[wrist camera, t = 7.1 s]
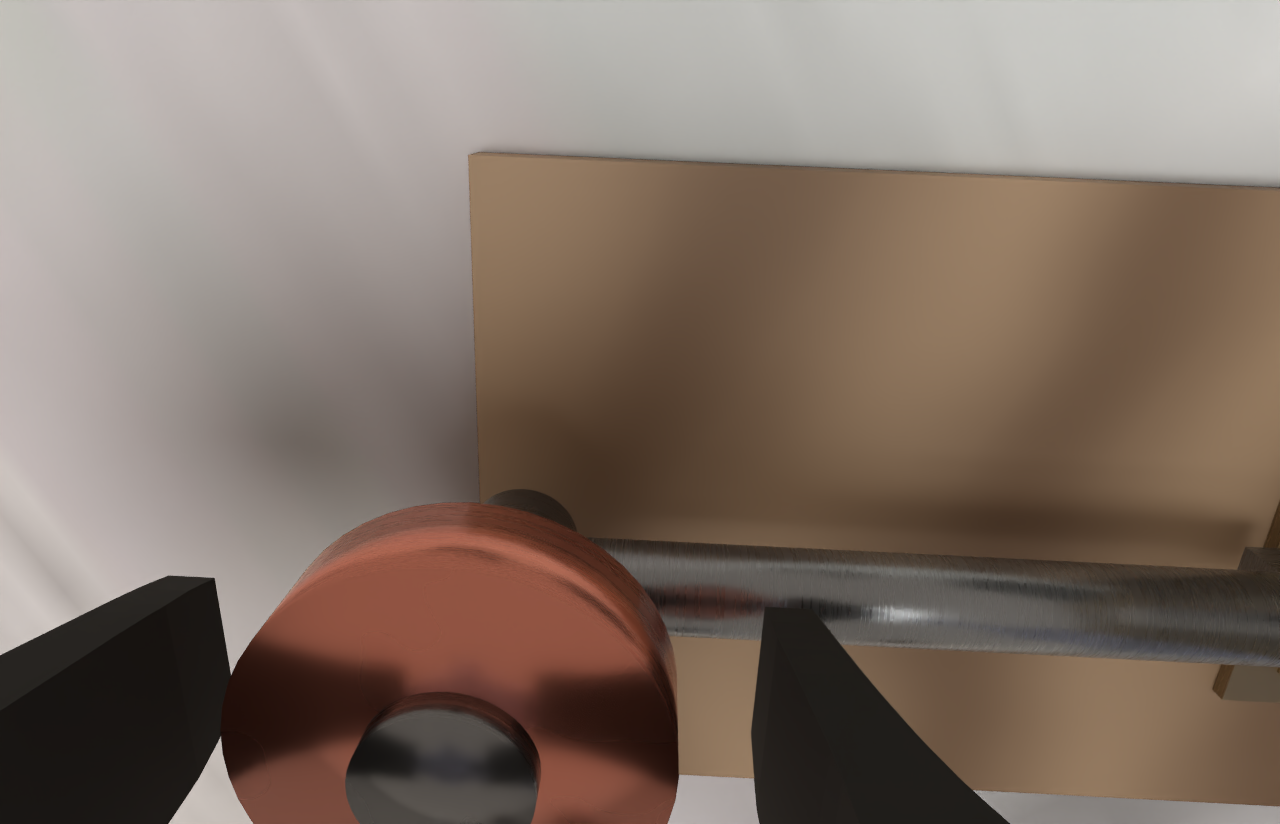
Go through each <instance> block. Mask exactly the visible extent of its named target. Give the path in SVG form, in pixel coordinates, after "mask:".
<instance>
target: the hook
mask: <svg viewBox="0 0 1280 824" xmlns="http://www.w3.org/2000/svg"><path fill="white" fill-rule="evenodd" d="M765 607H781V608H800V609H812V610H813V611H814V612H815V613H816V614H817V615H818V616H819V618H820V619H821V620H822V621H823V623H824V624H825V625H826V626H827V628H828V629H829V630H830V631H831V633H832V634H833V635H834V637H835V638H836V639H837V640H838V642H839V643H840V644H841V645H852V646H872V647H892V648H911V649H931V650H950V651H970V652H989V653H1009V654H1028V655H1048V656H1068V657H1087V658H1107V659H1126V660H1146V661H1165V662H1185V663H1204V664H1224V665H1243V666H1263V667H1280V548H1266V547H1245V549H1244V551H1243V554H1242V557H1241V560H1240V563H1239V566H1238V569H1237V570H1234V569H1214V568H1193V567H1173V566H1153V565H1133V564H1113V563H1093V562H1073V561H1053V560H1033V559H1013V558H993V557H973V556H952V555H932V554H912V553H892V552H872V551H852V550H832V549H812V548H792V547H772V546H752V545H731V544H711V543H691V542H671V541H651V540H631V539H611V538H591V537H584V536H582V535H581V534H579V533H577V529H576V526H575V523H574V521H573V519H572V517H571V515H570V514H569V512H568V511H567V510H566V509H565V508H564V507H563V505H561V504H560V503H559V502H558V501H557V500H555V499H553V498H552V497H550V496H548V495H546V494H544V493H541V492H538V491H534V490H528V489H513V490H507V491H503V492H501V493H498V494H496V495H494V496H492V497H490V498H489V499H488V500H486V501H485V502H484V503H483V504H480V503H471V502H469V503H437V504H429V505H422V506H415V507H411V508H407V509H403V510H399V511H395V512H391V513H388V514H386V515H383V516H381V517H378V518H376V519H373V520H371V521H368V522H366V523H364V524H362V525H360V526H359V527H357V528H355V529H353V530H352V531H350V532H348V533H346V534H345V535H343V536H342V537H340V538H339V539H338V540H337V541H335V542H334V543H333V544H331V545H330V546H329V547H328V548H326V549H325V550H324V551H323V552H322V553H321V554H320V555H319V556H318V557H317V558H316V559H315V560H314V562H313V563H312V564H311V565H310V566H309V567H308V568H307V569H306V571H305V572H304V573H303V575H302V576H301V577H300V578H299V580H298V581H297V582H296V584H295V585H294V586H293V587H292V589H291V590H290V591H289V593H288V594H287V595H286V597H285V598H284V599H283V600H282V602H281V603H280V604H279V606H278V607H277V608H276V610H275V611H274V612H273V613H272V615H271V616H270V617H269V619H268V620H267V621H266V622H265V624H264V625H263V626H262V628H261V629H260V630H259V632H258V633H257V634H256V635H255V637H254V638H253V639H252V641H251V642H250V644H249V645H248V647H247V648H246V650H245V651H244V653H243V654H242V656H241V657H240V659H239V660H238V662H237V664H236V666H235V669H234V671H233V673H232V675H231V678H230V680H229V682H228V685H227V689H226V693H225V697H224V701H223V705H222V716H221V741H222V751H223V756H224V760H225V764H226V768H227V772H228V775H229V778H230V781H231V783H232V785H233V788H234V790H235V792H236V795H237V797H238V799H239V801H240V803H241V804H242V806H243V808H244V809H245V811H246V813H247V814H248V816H249V818H250V819H251V821H252V822H253V823H254V824H667V823H668V820H669V818H670V815H671V812H672V809H673V806H674V803H675V799H676V792H677V786H678V780H679V753H678V708H677V669H676V663H675V657H674V651H673V647H672V644H671V641H670V638H669V636H677V637H696V638H716V639H735V640H755V641H761V637H762V628H763V619H764V610H765Z"/></svg>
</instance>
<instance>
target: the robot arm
mask: <svg viewBox="0 0 1280 824" xmlns="http://www.w3.org/2000/svg"><path fill="white" fill-rule="evenodd" d="M230 678H231V673H230V667H229V661H228V655H227V649H226V643H225V637H224V631H223V625H222V620H221V614H220V608H219V602H218V596H217V590H216V584H215V578H204V577H185V576H167V577H164V578H161V579H159V580H156V581H154V582H151V583H149V584H147V585H144V586H142V587H140V588H137V589H135V590H133V591H131V592H129V593H127V594H124V595H122V596H120V597H118V598H116V599H114V600H112V601H110V602H108V603H106V604H103V605H101V606H99V607H97V608H95V609H93V610H91V611H89V612H87V613H85V614H83V615H81V616H79V617H77V618H75V619H73V620H71V621H69V622H67V623H65V624H63V625H61V626H59V627H57V628H55V629H53V630H51V631H49V632H47V633H45V634H43V635H41V636H39V637H36V638H34V639H32V640H30V641H28V642H26V643H24V644H22V645H20V646H18V647H16V648H14V649H12V650H10V651H8V652H6V653H4V654H2V655H0V824H168V823H169V822H170V820H171V819H172V817H173V816H174V814H175V813H176V812H177V810H178V809H179V807H180V806H181V804H182V803H183V801H184V800H185V798H186V797H187V795H188V794H189V792H190V791H191V789H192V788H193V786H194V784H195V783H196V781H197V780H198V778H199V777H200V775H201V773H202V771H203V769H204V767H205V765H206V763H207V762H208V760H209V758H210V756H211V754H212V752H213V750H214V748H215V747H216V745H217V743H218V741H219V739H220V736H221V716H222V705H223V701H224V697H225V693H226V689H227V685H228V682H229V680H230ZM751 742H752V756H753V770H754V782H755V794H756V806H757V813H758V818H759V823H760V824H1010V823H1009V822H1007V821H1006V820H1005V819H1004V818H1003V817H1002V816H1001V815H999V814H998V813H997V812H996V811H995V810H994V809H993V808H991V807H990V806H989V805H988V804H987V803H986V802H985V801H984V800H983V799H981V798H980V797H979V796H978V795H977V794H976V793H975V792H974V791H973V790H972V789H971V788H970V787H969V786H968V785H966V784H965V783H964V782H963V781H962V780H961V779H960V778H959V777H958V776H957V775H956V774H955V773H954V772H953V771H952V770H951V769H950V768H949V767H948V766H947V765H946V764H945V763H944V762H943V761H942V760H941V759H940V758H939V757H938V756H937V755H936V754H935V753H934V752H933V751H932V750H931V749H930V748H929V746H928V745H927V744H926V743H925V742H924V741H923V740H922V739H921V738H920V737H919V736H918V735H917V734H916V733H915V732H914V730H913V729H912V728H911V727H910V726H909V725H908V724H907V723H906V721H905V720H904V719H903V718H902V717H901V716H900V715H899V714H898V712H897V711H896V710H895V709H894V708H893V707H892V706H891V704H890V703H889V702H888V701H887V700H886V699H885V698H884V697H883V695H882V694H881V693H880V692H879V691H878V690H877V688H876V687H875V686H874V685H873V684H872V682H871V681H870V680H869V679H868V678H867V676H866V675H865V674H864V673H863V672H862V670H861V669H860V668H859V667H858V665H857V664H856V663H855V662H854V660H853V659H852V658H851V657H850V656H849V654H848V653H847V652H846V650H845V649H844V648H843V647H842V645H841V644H840V643H839V642H838V640H837V639H836V638H835V637H834V635H833V634H832V633H831V631H830V630H829V629H828V628H827V626H826V625H825V624H824V623H823V621H822V620H821V619H820V618H819V616H818V615H817V614H816V613H815V612H814V611H813V610H812V609H800V608H781V607H765V610H764V619H763V628H762V637H761V646H760V655H759V664H758V673H757V682H756V691H755V700H754V709H753V717H752V726H751Z"/></svg>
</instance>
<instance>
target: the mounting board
mask: <svg viewBox="0 0 1280 824" xmlns="http://www.w3.org/2000/svg"><path fill="white" fill-rule="evenodd" d="M468 161H469V191H470V221H471V251H472V281H473V311H474V341H475V372H476V402H477V432H478V462H479V492H480V504H483V503H484V502H485V501H486V500H488V499H489V498H490V497H492V496H494V495H496V494H498V493H501V492H503V491H507V490H513V489H528V490H534V491H538V492H541V493H544V494H546V495H548V496H550V497H552V498H553V499H555V500H557V501H558V502H559V503H560V504H561V505H563V507H564V508H565V509H566V510H567V511H568V512H569V514H570V515H571V517H572V519H573V521H574V523H575V526H576V529H577V533H579V534H581V535H582V536H584V537H591V538H611V539H631V540H651V541H671V542H691V543H711V544H731V545H752V546H772V547H792V548H812V549H832V550H852V551H872V552H892V553H912V554H932V555H952V556H973V557H993V558H1013V559H1033V560H1053V561H1073V562H1093V563H1113V564H1133V565H1153V566H1173V567H1193V568H1214V569H1234V570H1237V569H1238V566H1239V563H1240V560H1241V557H1242V554H1243V551H1244V549H1245V547H1263V546H1264V543H1265V540H1266V537H1267V535H1268V532H1269V529H1270V526H1271V523H1272V521H1273V518H1274V515H1275V512H1276V509H1277V507H1278V504H1279V501H1280V188H1276V187H1254V186H1231V185H1208V184H1186V183H1163V182H1141V181H1118V180H1095V179H1073V178H1050V177H1028V176H1005V175H982V174H960V173H937V172H915V171H892V170H869V169H847V168H824V167H802V166H779V165H756V164H734V163H711V162H689V161H666V160H643V159H621V158H598V157H576V156H553V155H531V154H508V153H485V152H478V153H474V154H471V155H468ZM669 638H670V641H671V644H672V647H673V651H674V657H675V663H676V669H677V708H678V753H679V774H681V775H700V776H718V777H737V778H754V770H753V756H752V742H751V726H752V717H753V709H754V700H755V691H756V682H757V673H758V664H759V655H760V646H761V641H755V640H735V639H716V638H696V637H677V636H669ZM842 647H843V648H844V649H845V650H846V652H847V653H848V654H849V656H850V657H851V658H852V659H853V660H854V662H855V663H856V664H857V665H858V667H859V668H860V669H861V670H862V672H863V673H864V674H865V675H866V676H867V678H868V679H869V680H870V681H871V682H872V684H873V685H874V686H875V687H876V688H877V690H878V691H879V692H880V693H881V694H882V695H883V697H884V698H885V699H886V700H887V701H888V702H889V703H890V704H891V706H892V707H893V708H894V709H895V710H896V711H897V712H898V714H899V715H900V716H901V717H902V718H903V719H904V720H905V721H906V723H907V724H908V725H909V726H910V727H911V728H912V729H913V730H914V732H915V733H916V734H917V735H918V736H919V737H920V738H921V739H922V740H923V741H924V742H925V743H926V744H927V745H928V746H929V748H930V749H931V750H932V751H933V752H934V753H935V754H936V755H937V756H938V757H939V758H940V759H941V760H942V761H943V762H944V763H945V764H946V765H947V766H948V767H949V768H950V769H951V770H952V771H953V772H954V773H955V774H956V775H957V776H958V777H959V778H960V779H961V780H962V781H963V782H964V783H965V784H966V785H968V786H969V787H970V788H971V789H972V790H982V791H1001V792H1019V793H1038V794H1057V795H1076V796H1095V797H1113V798H1132V799H1151V800H1170V801H1189V802H1208V803H1226V804H1245V805H1264V806H1280V703H1272V702H1252V701H1233V700H1222V699H1221V698H1220V697H1219V696H1218V695H1217V694H1216V693H1215V692H1214V691H1213V690H1212V688H1213V685H1214V682H1215V679H1216V677H1217V674H1218V671H1219V668H1220V665H1221V664H1204V663H1185V662H1165V661H1146V660H1126V659H1107V658H1087V657H1068V656H1048V655H1028V654H1009V653H989V652H970V651H950V650H931V649H911V648H892V647H872V646H852V645H842Z"/></svg>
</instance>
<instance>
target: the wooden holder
mask: <svg viewBox="0 0 1280 824" xmlns="http://www.w3.org/2000/svg"><path fill="white" fill-rule="evenodd" d="M1263 547H1266V548H1280V501H1279V504H1278V507H1277V509H1276V512H1275V515H1274V518H1273V521H1272V523H1271V526H1270V529H1269V532H1268V535H1267V537H1266V540H1265V543H1264V546H1263ZM1212 690H1213V691H1214V692H1215V693H1216V694H1217V695H1218V696H1219V697H1220V698H1221V699H1222V700H1233V701H1252V702H1272V703H1280V667H1263V666H1243V665H1224V664H1221V665H1220V668H1219V671H1218V674H1217V677H1216V679H1215V682H1214V685H1213V688H1212Z"/></svg>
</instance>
